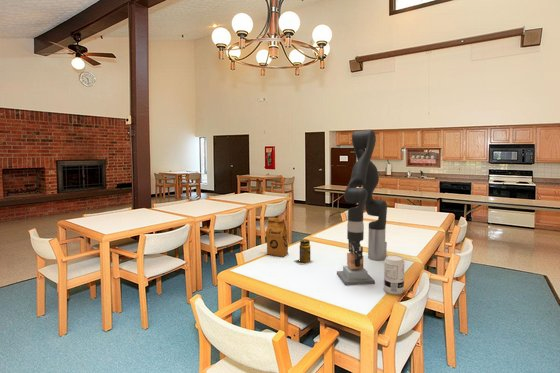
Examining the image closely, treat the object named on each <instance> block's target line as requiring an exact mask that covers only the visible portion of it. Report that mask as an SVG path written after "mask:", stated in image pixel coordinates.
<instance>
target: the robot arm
mask: <svg viewBox="0 0 560 373" xmlns="http://www.w3.org/2000/svg"><path fill="white" fill-rule="evenodd" d="M376 140H377V136H376V133H375V131H374V130H373V129H364V130H363V129H362V130H355V131H353V133H352V135H351V141H352V146H353V149H354V153H355V156H356V162H355V163H354V165H353V167H352V171H351V176H350V180H349V181H348V182H349V183H348V184H347V186H346V188H345V189H344V194H343V199H344V200H345V202H347V203H350V204H351V203H353V204H358V205H357V206H355V207H350V208H349V209H348V211H347V228H346V230H347V232H346V234H347V235H346V237H347V238H346V239H347V241H348V253H353V254H354V255H355V266H356V267H360V259H362V255H363V251H364V250H363V249H364V247H363V246H361V242H362V241H364V238H365V237H364V233H365V232H364V212H365V211H366V212H365V213H366V214H367V215H368V216H372V217H378V218H377V220H373V221H371V222H368V233H367V234H368V237H367V238H368V239H367V240H368V241H367V242H368V243H367V245H368V248H367V257H368V259H370V260H374V261H383V260H385V259H386V256H387V245H388V242H387V241H386V228H387V227H386V225H387V213H388V205H387V201H385V200H382V199H374V198H373V193H374V191H375V189H376V188H377V186H378V184H379V181H380V178H379V171H378V168H377V166H376V164H374V163H373V161H372V156H373V152H374V149H375V146H376ZM360 254H361V255H360ZM358 255H359V256H358Z"/></svg>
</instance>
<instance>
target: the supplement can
mask: <svg viewBox="0 0 560 373" xmlns="http://www.w3.org/2000/svg"><path fill="white" fill-rule="evenodd" d="M383 260H384V261H383V290H384V291H385V293H387V294H389V295H393V296H394V295H395V296H396V295H401V294H403V293H404V291H405V290H404V289H405V260H404V258H403V257H402V256H399V255H391V254H390V255H386V259H383Z"/></svg>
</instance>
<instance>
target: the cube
mask: <svg viewBox="0 0 560 373" xmlns="http://www.w3.org/2000/svg"><path fill="white" fill-rule="evenodd" d="M360 255H361V254H360ZM346 256H347V257H346V260H347V261H346V266H349V268H350V269H363V268H364V257H365V256H364V255H363V254H362V259H360V267H356V266H355V255H354V254H353V253H350V252H347V254H346ZM358 256H359V255H358Z"/></svg>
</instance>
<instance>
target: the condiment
mask: <svg viewBox="0 0 560 373" xmlns="http://www.w3.org/2000/svg"><path fill="white" fill-rule="evenodd" d="M299 260H300V261H299ZM294 262H295V263H297V264H298V265H301V266H302V265H305V264H311V263H314V261H313V260H311V244H310V240H309V239H304V238H303V239H300V241H299V259H296V260H294Z"/></svg>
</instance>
